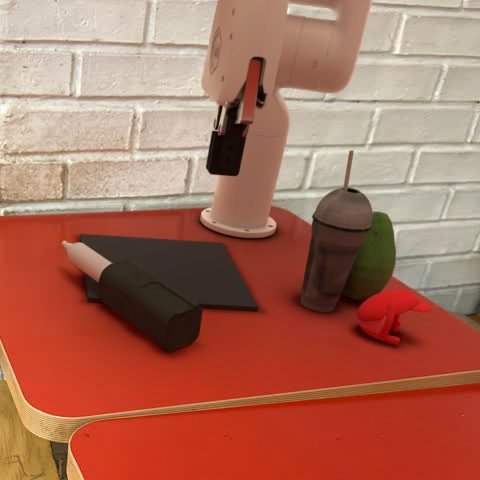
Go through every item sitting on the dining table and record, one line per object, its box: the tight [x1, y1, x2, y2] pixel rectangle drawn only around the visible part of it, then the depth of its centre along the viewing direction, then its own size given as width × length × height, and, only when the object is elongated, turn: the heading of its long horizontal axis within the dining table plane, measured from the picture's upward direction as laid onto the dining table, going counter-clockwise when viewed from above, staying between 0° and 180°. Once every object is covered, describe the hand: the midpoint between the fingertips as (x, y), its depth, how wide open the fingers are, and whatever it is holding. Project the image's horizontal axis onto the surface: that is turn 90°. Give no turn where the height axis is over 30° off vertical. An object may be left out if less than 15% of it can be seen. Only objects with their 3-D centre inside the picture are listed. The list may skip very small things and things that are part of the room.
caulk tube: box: [60, 240, 203, 353], centre depth 85 cm, size 5×5×25 cm
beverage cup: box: [300, 149, 373, 313], centre depth 87 cm, size 7×7×20 cm
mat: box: [79, 233, 259, 312], centre depth 97 cm, size 22×22×1 cm
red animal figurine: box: [356, 289, 433, 345], centre depth 85 cm, size 8×6×6 cm
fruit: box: [341, 210, 397, 301], centre depth 92 cm, size 8×8×12 cm
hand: (221, 172), depth 72 cm, fingers closed
